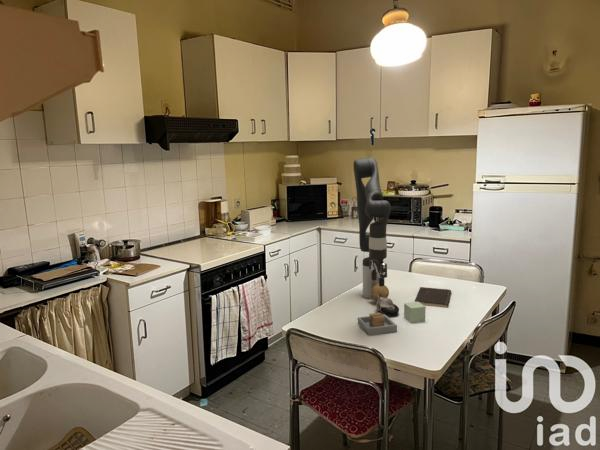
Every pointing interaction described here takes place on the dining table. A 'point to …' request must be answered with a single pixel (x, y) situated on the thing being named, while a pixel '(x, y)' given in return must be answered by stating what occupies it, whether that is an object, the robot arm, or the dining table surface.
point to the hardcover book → (433, 297)
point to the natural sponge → (379, 292)
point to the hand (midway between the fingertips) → (377, 283)
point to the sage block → (414, 312)
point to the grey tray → (370, 330)
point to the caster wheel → (387, 307)
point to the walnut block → (376, 319)
